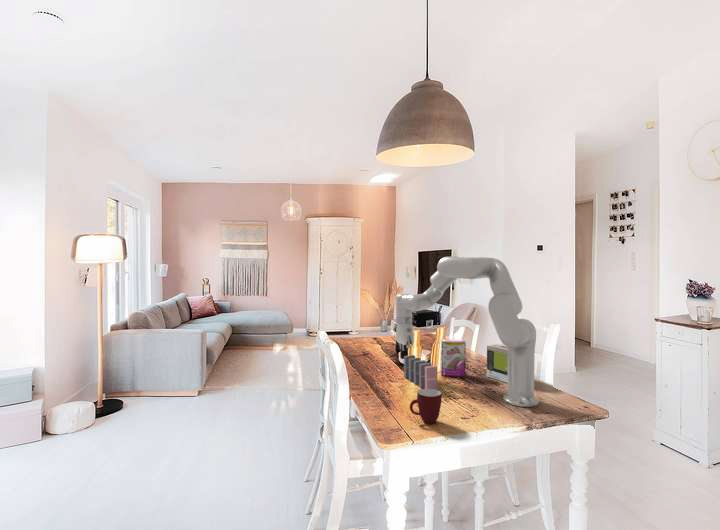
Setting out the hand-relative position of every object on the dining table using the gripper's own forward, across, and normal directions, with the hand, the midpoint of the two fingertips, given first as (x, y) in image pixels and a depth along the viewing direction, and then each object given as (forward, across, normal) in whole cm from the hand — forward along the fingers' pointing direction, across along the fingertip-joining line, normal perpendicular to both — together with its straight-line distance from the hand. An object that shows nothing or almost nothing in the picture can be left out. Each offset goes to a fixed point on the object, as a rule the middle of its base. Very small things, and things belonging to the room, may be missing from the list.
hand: (404, 358), depth 188 cm
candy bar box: (+8, -10, -21) cm, 24 cm away
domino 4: (+8, -20, 0) cm, 21 cm away
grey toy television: (+8, -24, -40) cm, 47 cm away
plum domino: (+8, -25, 0) cm, 26 cm away
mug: (+8, -52, +18) cm, 56 cm away
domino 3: (+8, -15, 0) cm, 17 cm away
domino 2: (+8, -10, 0) cm, 13 cm away
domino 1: (+8, -6, 0) cm, 9 cm away
